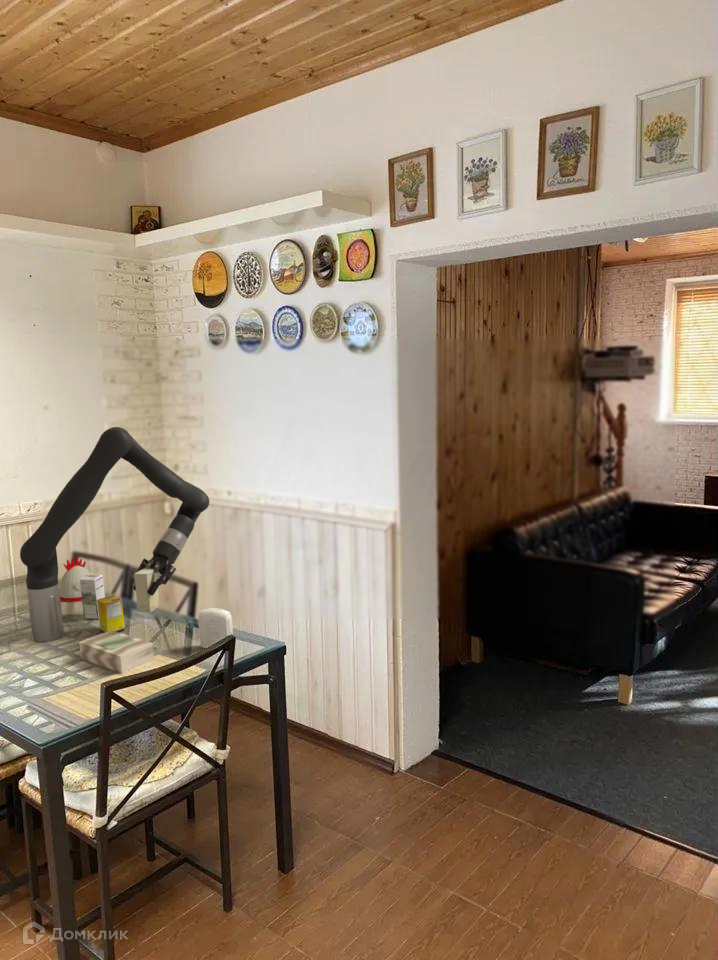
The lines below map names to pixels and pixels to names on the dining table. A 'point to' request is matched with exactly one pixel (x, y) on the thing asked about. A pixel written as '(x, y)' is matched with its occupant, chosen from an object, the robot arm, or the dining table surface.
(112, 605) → the supplement box
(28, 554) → the robot arm
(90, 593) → the syrup box
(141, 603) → the skincare box
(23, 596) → the dining table surface
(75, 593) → the kitchen timer
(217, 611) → the photo printer
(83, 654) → the step block
